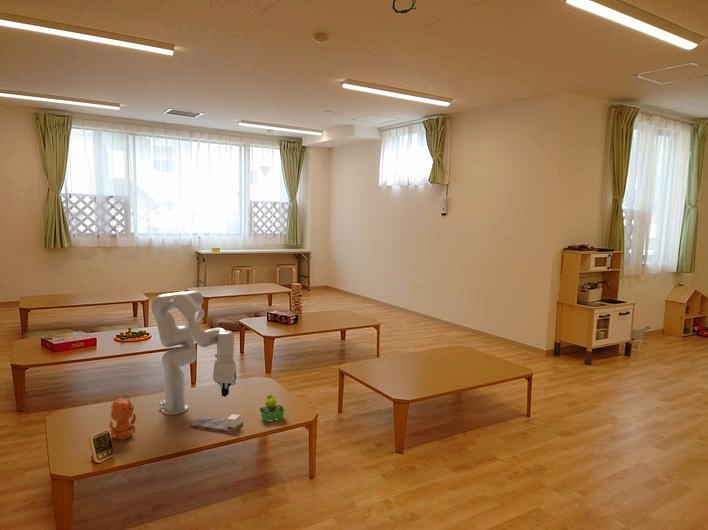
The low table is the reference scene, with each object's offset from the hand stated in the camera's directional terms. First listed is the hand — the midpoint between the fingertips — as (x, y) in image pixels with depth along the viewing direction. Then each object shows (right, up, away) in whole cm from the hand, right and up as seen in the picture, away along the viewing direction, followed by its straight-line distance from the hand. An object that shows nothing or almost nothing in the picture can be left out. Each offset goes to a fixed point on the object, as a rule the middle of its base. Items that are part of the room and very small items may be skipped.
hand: (225, 395), depth 222 cm
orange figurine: (-43, -16, -10) cm, 47 cm away
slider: (+4, -14, 0) cm, 14 cm away
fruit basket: (+20, -15, +12) cm, 28 cm away
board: (-5, -15, +3) cm, 16 cm away
